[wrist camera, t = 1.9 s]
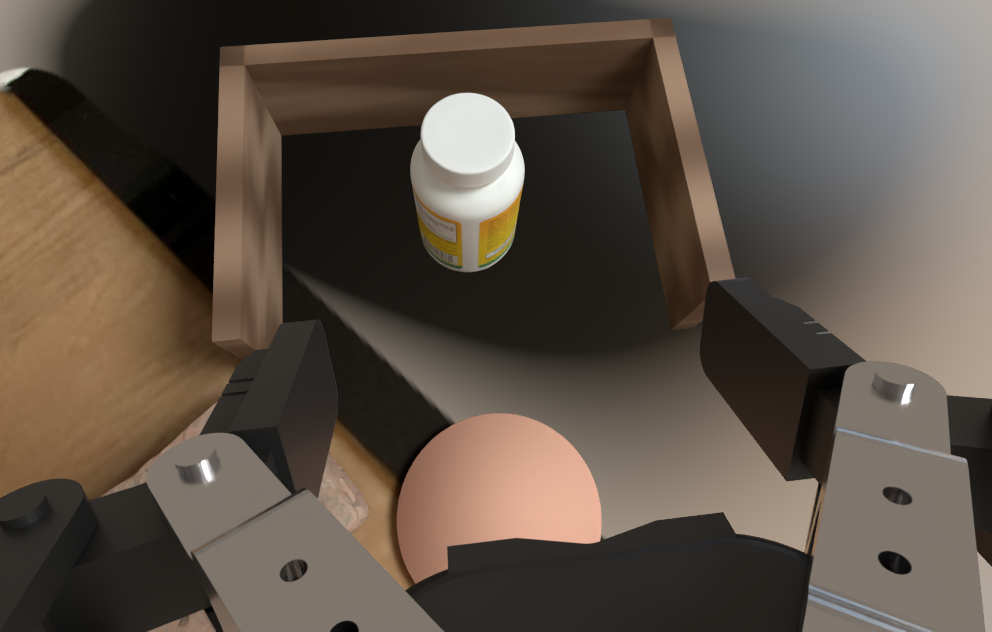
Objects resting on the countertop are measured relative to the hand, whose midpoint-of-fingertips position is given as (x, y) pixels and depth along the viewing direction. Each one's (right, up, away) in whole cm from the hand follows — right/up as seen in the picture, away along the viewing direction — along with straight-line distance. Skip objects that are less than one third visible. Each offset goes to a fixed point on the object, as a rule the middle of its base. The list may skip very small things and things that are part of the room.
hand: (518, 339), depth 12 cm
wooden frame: (-2, +5, +22) cm, 22 cm away
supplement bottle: (-2, +5, +22) cm, 23 cm away
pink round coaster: (0, -9, +17) cm, 20 cm away
